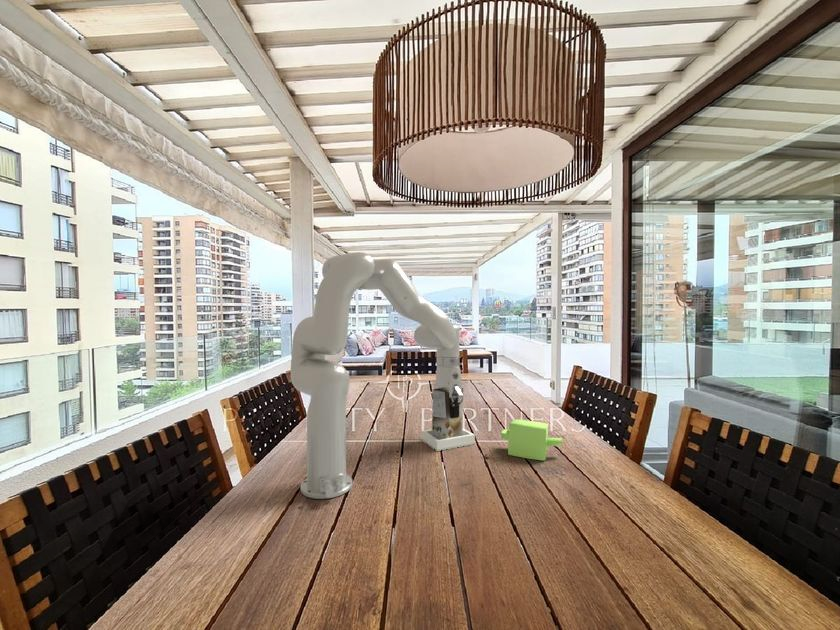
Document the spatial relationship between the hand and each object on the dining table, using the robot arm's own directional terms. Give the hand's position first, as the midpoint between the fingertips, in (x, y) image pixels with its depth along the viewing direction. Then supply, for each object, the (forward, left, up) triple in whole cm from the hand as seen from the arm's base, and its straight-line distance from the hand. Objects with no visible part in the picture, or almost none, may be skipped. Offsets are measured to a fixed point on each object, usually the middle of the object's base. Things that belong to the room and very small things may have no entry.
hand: (447, 414), depth 127 cm
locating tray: (0, 0, -9) cm, 9 cm away
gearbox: (-19, -19, -10) cm, 28 cm away
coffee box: (0, 0, -8) cm, 8 cm away
